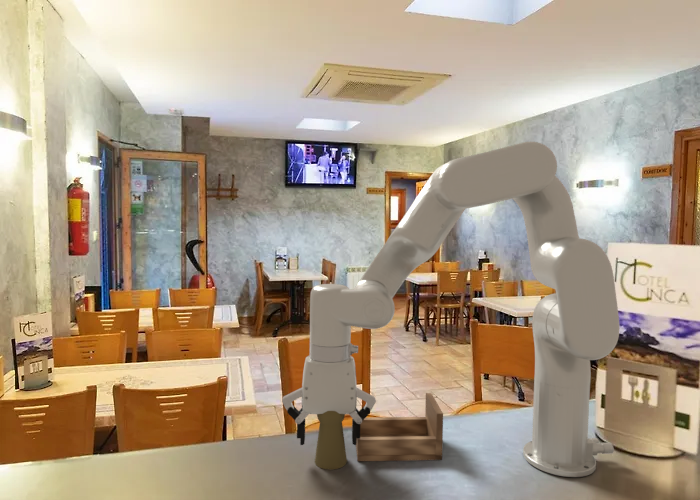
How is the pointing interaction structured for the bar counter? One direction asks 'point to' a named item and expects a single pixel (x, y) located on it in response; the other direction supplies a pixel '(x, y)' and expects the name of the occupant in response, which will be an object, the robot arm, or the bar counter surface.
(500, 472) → the bar counter surface
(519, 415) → the bar counter surface
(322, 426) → the cork
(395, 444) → the walnut drawer
